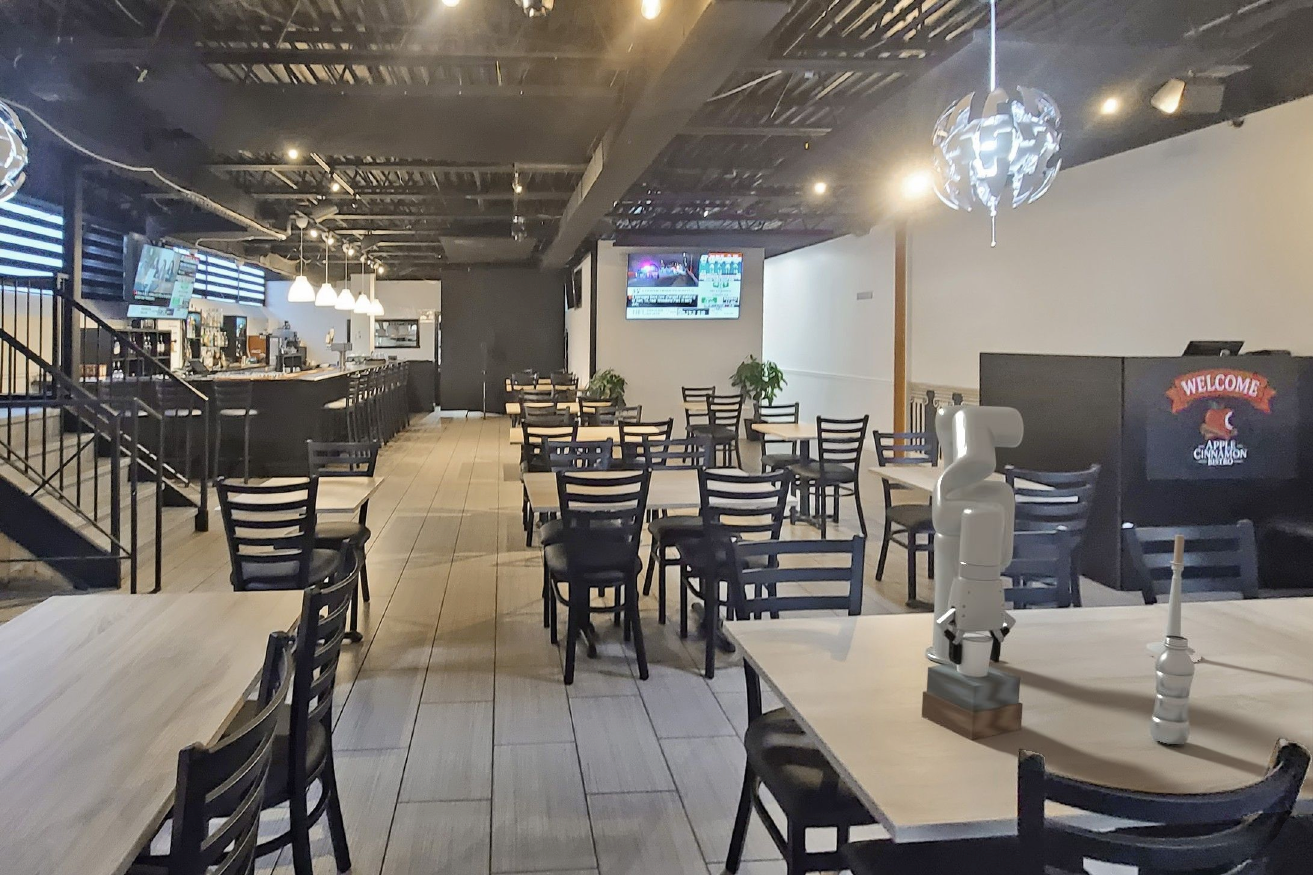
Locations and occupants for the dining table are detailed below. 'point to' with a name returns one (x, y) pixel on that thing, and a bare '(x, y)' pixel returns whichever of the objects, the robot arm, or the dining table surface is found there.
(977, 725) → the grey and wood block
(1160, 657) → the plastic bottle
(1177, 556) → the candlestick
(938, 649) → the robot arm
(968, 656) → the white grey-rimmed cylinder
